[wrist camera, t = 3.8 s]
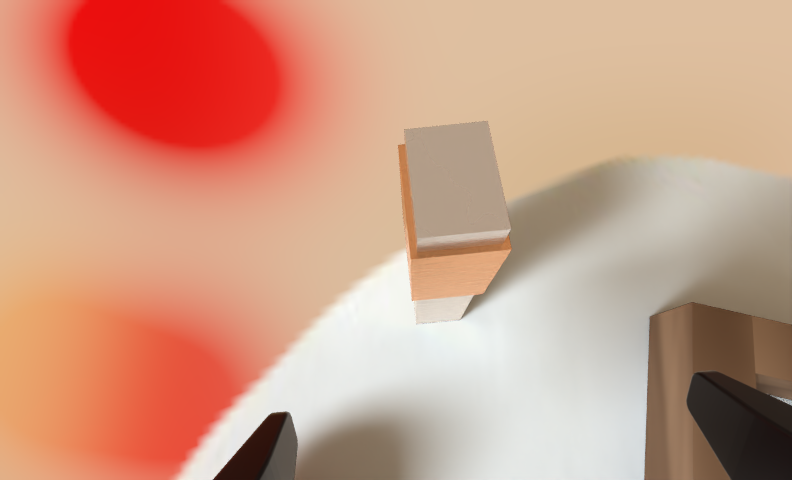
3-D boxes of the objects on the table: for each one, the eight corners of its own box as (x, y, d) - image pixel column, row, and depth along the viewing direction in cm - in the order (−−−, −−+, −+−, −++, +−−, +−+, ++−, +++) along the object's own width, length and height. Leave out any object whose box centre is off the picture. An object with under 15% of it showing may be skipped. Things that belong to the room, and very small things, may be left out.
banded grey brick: (464, 323, 22) (520, 235, 10) (412, 328, 22) (410, 246, 10) (453, 257, 23) (493, 114, 11) (406, 262, 23) (396, 124, 11)
